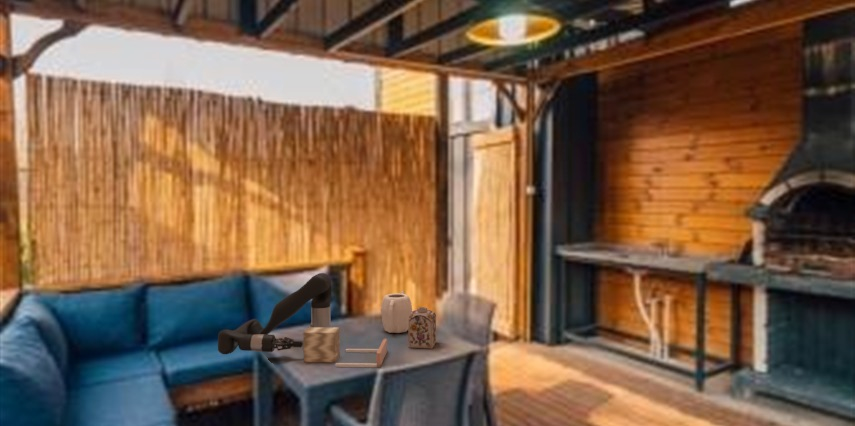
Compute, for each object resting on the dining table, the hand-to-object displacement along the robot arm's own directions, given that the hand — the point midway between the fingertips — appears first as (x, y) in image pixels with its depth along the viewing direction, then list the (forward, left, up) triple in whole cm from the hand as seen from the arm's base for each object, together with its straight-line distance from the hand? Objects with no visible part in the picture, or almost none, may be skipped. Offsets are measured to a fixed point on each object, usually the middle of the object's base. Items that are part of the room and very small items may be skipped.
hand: (301, 344), depth 272 cm
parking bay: (+27, 0, -6) cm, 28 cm away
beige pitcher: (+37, +51, -7) cm, 63 cm away
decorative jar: (+52, +23, -7) cm, 57 cm away
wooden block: (+9, 0, -7) cm, 11 cm away
